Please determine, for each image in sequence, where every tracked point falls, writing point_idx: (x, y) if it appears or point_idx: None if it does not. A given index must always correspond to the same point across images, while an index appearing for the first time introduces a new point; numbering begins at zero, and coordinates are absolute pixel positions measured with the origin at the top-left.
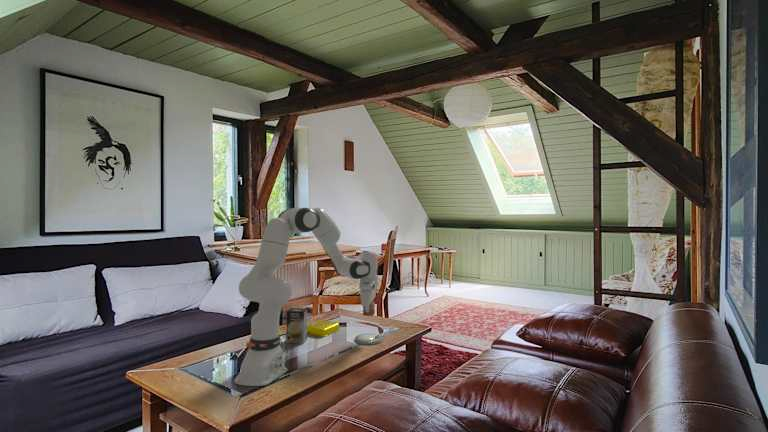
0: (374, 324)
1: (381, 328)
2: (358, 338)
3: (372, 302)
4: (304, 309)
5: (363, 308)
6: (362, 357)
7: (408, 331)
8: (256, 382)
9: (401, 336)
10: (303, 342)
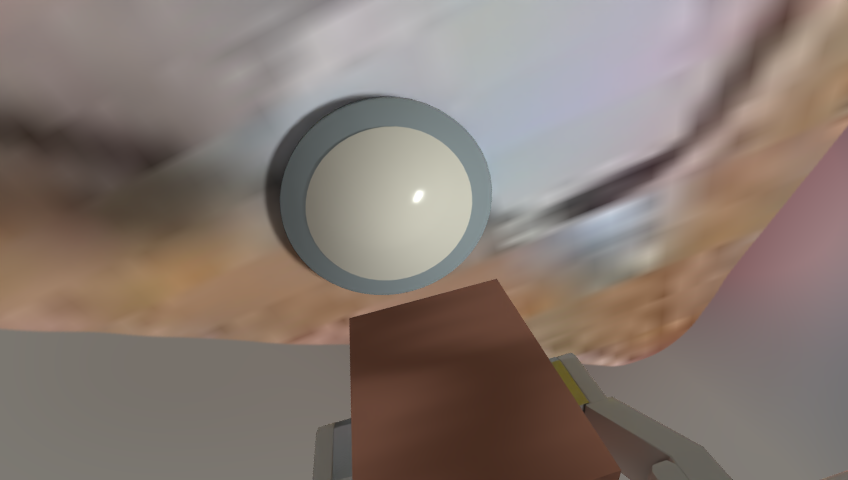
0: (741, 94)
1: (645, 180)
2: (340, 148)
3: None
4: None
5: (354, 428)
6: (49, 312)
7: (594, 324)
8: None
9: None
10: None
